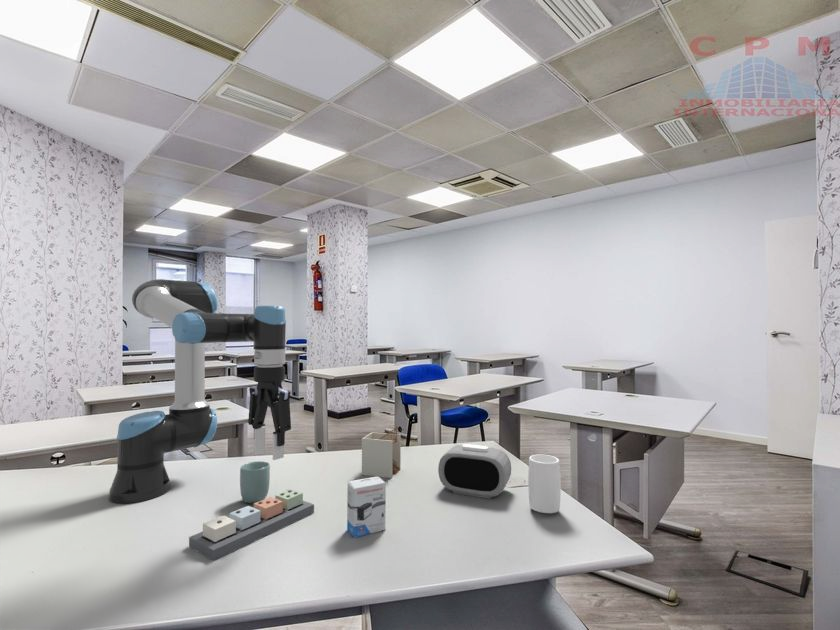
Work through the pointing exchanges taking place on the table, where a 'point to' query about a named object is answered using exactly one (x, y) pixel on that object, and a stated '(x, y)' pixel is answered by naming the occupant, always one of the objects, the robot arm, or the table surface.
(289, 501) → the tile
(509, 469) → the alarm clock
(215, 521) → the tile
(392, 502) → the table surface
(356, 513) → the ink box
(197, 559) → the table surface
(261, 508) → the tile
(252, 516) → the tile
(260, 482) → the cup
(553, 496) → the cup
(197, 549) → the board
